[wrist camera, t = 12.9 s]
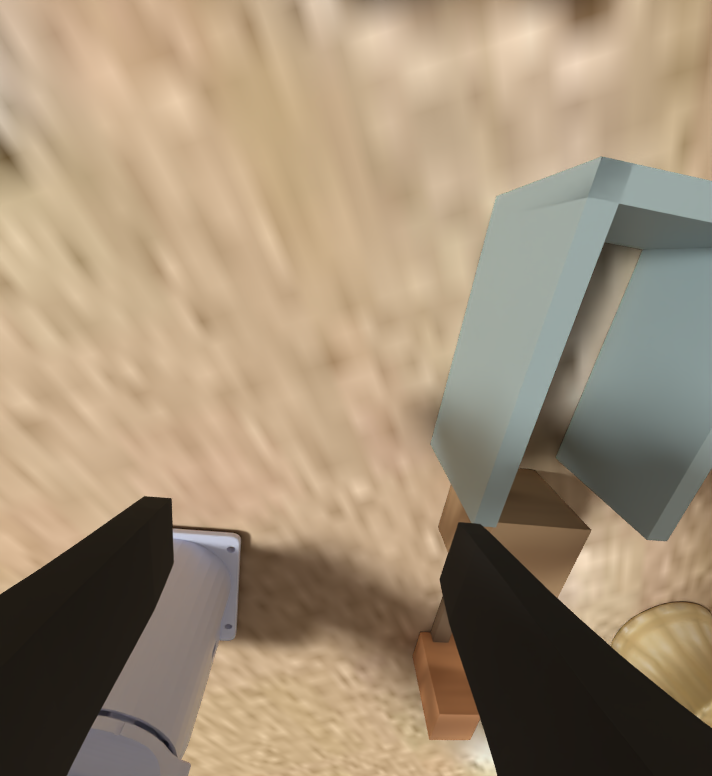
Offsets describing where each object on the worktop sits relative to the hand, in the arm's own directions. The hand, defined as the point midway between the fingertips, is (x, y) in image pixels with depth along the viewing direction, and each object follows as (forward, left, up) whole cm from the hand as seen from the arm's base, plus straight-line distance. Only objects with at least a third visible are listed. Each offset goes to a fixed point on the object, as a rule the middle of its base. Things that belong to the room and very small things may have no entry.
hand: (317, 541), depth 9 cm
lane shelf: (+4, -11, -10) cm, 16 cm away
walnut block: (-12, -11, -10) cm, 20 cm away
